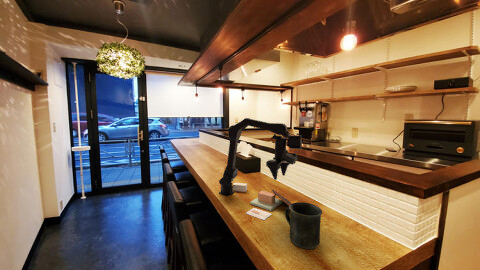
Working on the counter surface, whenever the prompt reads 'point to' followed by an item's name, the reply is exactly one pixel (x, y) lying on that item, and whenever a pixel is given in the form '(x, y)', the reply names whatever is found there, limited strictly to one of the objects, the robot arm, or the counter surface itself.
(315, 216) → the mug
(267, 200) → the terracotta brick
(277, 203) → the baseplate
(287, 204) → the wooden tablet
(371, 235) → the counter surface
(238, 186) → the cream brick
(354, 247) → the counter surface
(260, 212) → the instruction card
